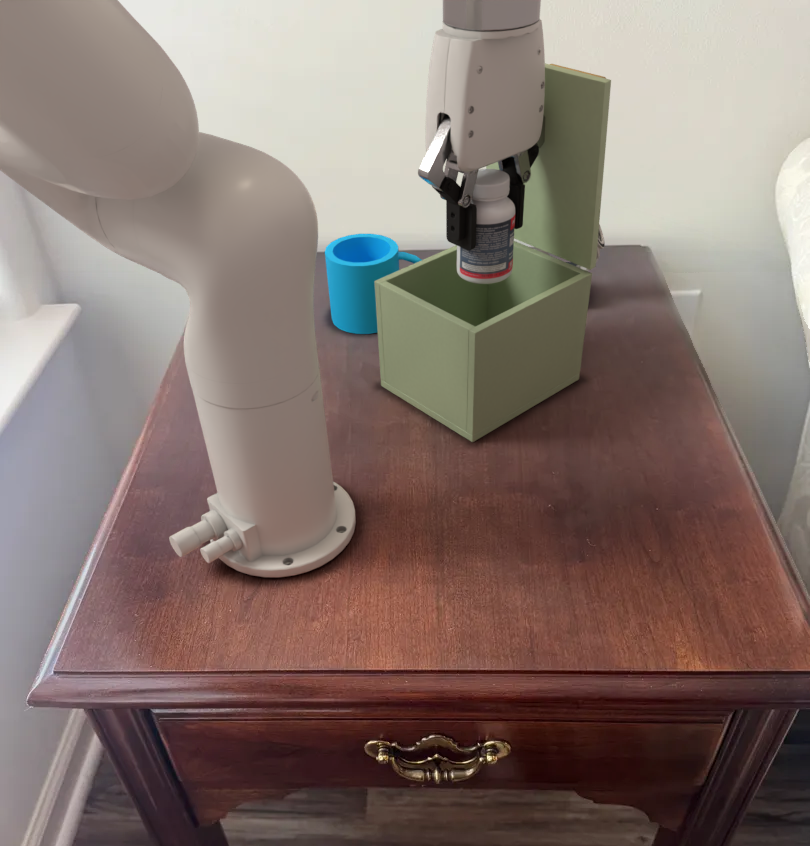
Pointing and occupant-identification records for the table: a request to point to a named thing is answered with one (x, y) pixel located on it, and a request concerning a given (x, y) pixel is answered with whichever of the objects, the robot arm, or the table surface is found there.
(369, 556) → the table surface
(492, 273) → the pill bottle
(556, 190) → the lid
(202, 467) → the table surface
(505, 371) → the chest
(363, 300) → the mug
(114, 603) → the table surface
